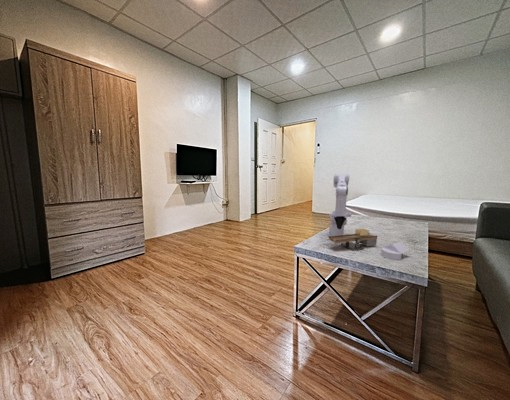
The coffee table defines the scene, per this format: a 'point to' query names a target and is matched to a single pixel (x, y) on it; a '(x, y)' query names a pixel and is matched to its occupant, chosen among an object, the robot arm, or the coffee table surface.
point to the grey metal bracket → (353, 245)
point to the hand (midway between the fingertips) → (339, 228)
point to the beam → (366, 241)
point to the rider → (361, 232)
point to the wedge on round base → (394, 251)
